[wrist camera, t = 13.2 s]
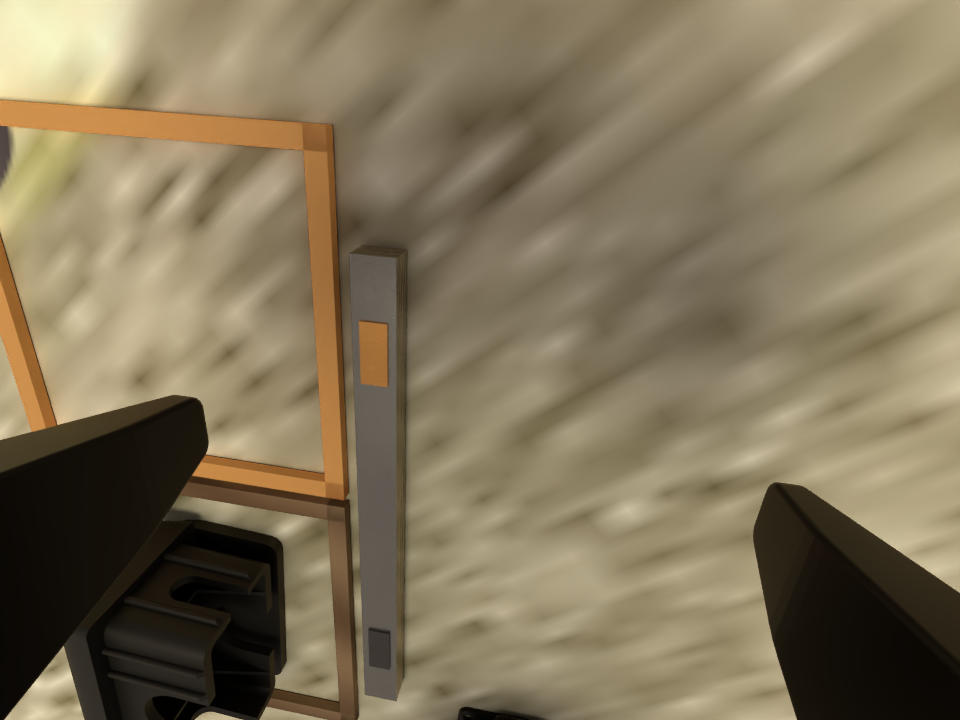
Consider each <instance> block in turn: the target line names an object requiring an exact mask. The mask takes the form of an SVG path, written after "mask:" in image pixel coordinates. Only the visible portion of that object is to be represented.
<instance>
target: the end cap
mask: <svg viewBox="0 0 960 720" xmlns="http://www.w3.org/2000/svg"><path fill="white" fill-rule="evenodd" d="M64 648H65V651H66V655H67V659H68V662H69V666H70V669H71V673H72V676H73V680H74V684H75V687H76V691H77V694H78V698H79V701H80V705H81V708H82V712H83V716H84V719H85V720H195V719H196V718H197V717H198V716H199V715H201V714H202V713H205V712H216V713H220V714H224V715H228V716H231V717H235V718H239V719H243V720H259V719H260V717H261V716H262V714H263V712H264V710H265V708H266V706H267V704H268V702H269V700H270V698H271V696H272V694H273V691H274V687H275V675H278V674H280V673H281V671H282V669H283V667H284V666H285V663H286V634H285V602H284V570H283V547H282V544H281V542H280V541H279V540H278V539H277V538H275V537H272V536H270V535H265V534H261V533H257V532H252V531H248V530H243V529H239V528H235V527H230V526H226V525H222V524H217V523H213V522H208V521H202V520H185V521H162V522H161V523H160V525H159V526H158V528H157V529H156V531H155V532H154V533H153V535H152V536H151V537H150V538H149V540H148V541H147V542H146V544H145V545H144V546H143V547H142V549H141V550H140V551H139V552H138V554H137V555H136V556H135V557H134V559H133V560H132V561H131V562H130V564H129V565H128V566H127V567H126V569H125V570H124V571H123V572H122V574H121V575H120V576H119V577H118V579H117V580H116V581H115V582H114V584H113V585H112V586H111V587H110V588H109V590H108V591H107V592H106V593H105V595H104V596H103V597H102V598H101V600H100V601H99V602H98V603H97V605H96V606H95V607H94V608H93V610H92V611H91V612H90V613H89V615H88V616H87V617H86V618H85V620H84V621H83V622H82V623H81V625H80V626H79V627H78V628H77V630H76V631H75V632H74V633H73V635H72V636H71V637H70V638H69V640H68V641H67V642H66V643H65V645H64Z"/></svg>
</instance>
